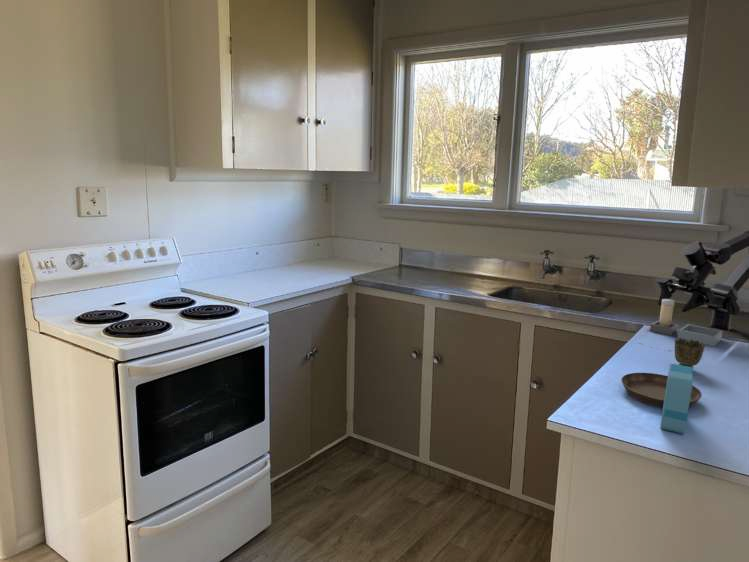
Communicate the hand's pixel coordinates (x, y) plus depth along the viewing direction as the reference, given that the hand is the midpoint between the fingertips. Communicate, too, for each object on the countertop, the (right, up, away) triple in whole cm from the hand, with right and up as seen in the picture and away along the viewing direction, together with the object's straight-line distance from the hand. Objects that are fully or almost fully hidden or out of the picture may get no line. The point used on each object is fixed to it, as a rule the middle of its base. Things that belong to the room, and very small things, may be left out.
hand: (670, 308), depth 192 cm
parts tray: (+6, -11, -6) cm, 14 cm away
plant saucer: (-31, -20, -53) cm, 64 cm away
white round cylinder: (-2, -8, +1) cm, 8 cm away
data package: (-35, -22, -68) cm, 80 cm away
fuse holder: (-2, -9, +1) cm, 9 cm away
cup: (-13, -16, -33) cm, 39 cm away
